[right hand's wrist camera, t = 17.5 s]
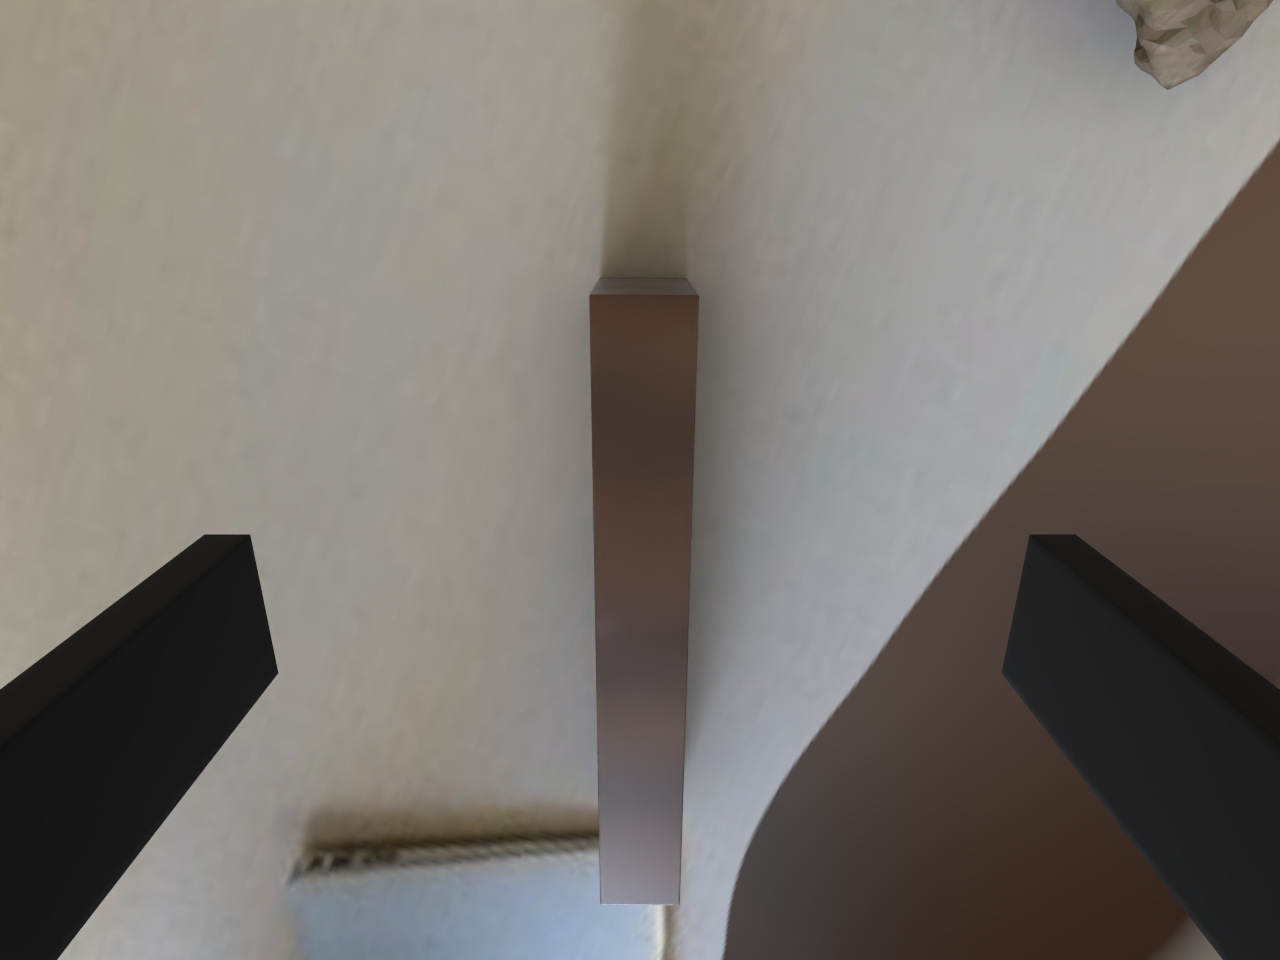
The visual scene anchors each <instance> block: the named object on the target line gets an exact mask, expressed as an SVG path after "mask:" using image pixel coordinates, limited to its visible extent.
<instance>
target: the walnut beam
mask: <svg viewBox="0 0 1280 960" xmlns="http://www.w3.org/2000/svg"><path fill="white" fill-rule="evenodd" d="M589 301H590V357H591V412H592V468H593V523H594V579H595V635H596V690H597V746H598V802H599V857H600V904H601V905H679V904H680V876H681V845H682V813H683V782H684V750H685V719H686V687H687V656H688V624H689V593H690V561H691V530H692V498H693V467H694V435H695V403H696V372H697V340H698V309H699V295H698V294H697V292H696V291H695V289H694V288H693V286H692V285H691V284H690V282H689V281H688V279H678V278H600V279H599V280H598V282H597V284H596V285H595V287H594V289H593V290H592V292H591V294H590V296H589Z"/></svg>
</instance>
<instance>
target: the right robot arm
mask: <svg viewBox="0 0 1280 960" xmlns="http://www.w3.org/2000/svg"><path fill="white" fill-rule="evenodd" d="M277 674H278V669H277V664H276V659H275V655H274V650H273V645H272V640H271V635H270V630H269V625H268V620H267V615H266V610H265V605H264V600H263V595H262V591H261V586H260V581H259V576H258V571H257V566H256V561H255V556H254V551H253V546H252V541H251V536H250V535H203V536H202V537H201V538H200V539H198V540H197V541H196V542H194V543H193V544H192V545H190V546H189V547H188V548H186V549H185V550H184V551H182V552H181V553H180V554H178V555H177V556H176V557H174V558H173V559H172V560H171V561H169V562H168V563H167V564H165V565H164V566H163V567H161V568H160V569H159V570H157V571H156V572H155V573H153V574H152V575H151V576H149V577H148V578H147V579H145V580H144V581H143V582H142V583H140V584H139V585H138V586H136V587H135V588H134V589H132V590H131V591H130V592H128V593H127V594H126V595H124V596H123V597H122V598H120V599H119V600H118V601H116V602H115V603H114V604H113V605H111V606H110V607H109V608H107V609H106V610H105V611H103V612H102V613H101V614H99V615H98V616H97V617H95V618H94V619H93V620H91V621H90V622H89V623H87V624H86V625H85V626H84V627H82V628H81V629H80V630H78V631H77V632H76V633H74V634H73V635H72V636H70V637H69V638H68V639H66V640H65V641H64V642H62V643H61V644H60V645H58V646H57V647H56V648H55V649H53V650H52V651H51V652H49V653H48V654H47V655H45V656H44V657H43V658H41V659H40V660H39V661H37V662H36V663H35V664H33V665H32V666H31V667H29V668H28V669H27V670H26V671H24V672H23V673H22V674H20V675H19V676H18V677H16V678H15V679H14V680H12V681H11V682H10V683H8V684H7V685H6V686H4V687H3V688H2V689H0V960H57V959H58V958H59V956H60V955H61V954H62V953H63V951H64V950H65V949H66V947H67V946H68V945H69V943H70V942H71V941H72V940H73V938H74V937H75V936H76V934H77V933H78V932H79V931H80V929H81V928H82V927H83V925H84V924H85V923H86V921H87V920H88V919H89V918H90V916H91V915H92V914H93V912H94V911H95V910H96V909H97V907H98V906H99V905H100V903H101V902H102V901H103V899H104V898H105V897H106V896H107V894H108V893H109V892H110V890H111V889H112V888H113V886H114V885H115V884H116V883H117V881H118V880H119V879H120V877H121V876H122V875H123V874H124V872H125V871H126V870H127V868H128V867H129V866H130V864H131V863H132V862H133V861H134V859H135V858H136V857H137V855H138V854H139V853H140V852H141V850H142V849H143V848H144V846H145V845H146V844H147V842H148V841H149V840H150V839H151V837H152V836H153V835H154V833H155V832H156V831H157V829H158V828H159V827H160V826H161V824H162V823H163V822H164V820H165V819H166V818H167V817H168V815H169V814H170V813H171V811H172V810H173V809H174V807H175V806H176V805H177V804H178V802H179V801H180V800H181V798H182V797H183V796H184V794H185V793H186V792H187V791H188V789H189V788H190V787H191V785H192V784H193V783H194V782H195V780H196V779H197V778H198V776H199V775H200V774H201V772H202V771H203V770H204V769H205V767H206V766H207V765H208V763H209V762H210V761H211V760H212V758H213V757H214V756H215V754H216V753H217V752H218V750H219V749H220V748H221V747H222V745H223V744H224V743H225V741H226V740H227V739H228V737H229V736H230V735H231V734H232V732H233V731H234V730H235V728H236V727H237V726H238V725H239V723H240V722H241V721H242V719H243V718H244V717H245V715H246V714H247V713H248V712H249V710H250V709H251V708H252V706H253V705H254V704H255V703H256V701H257V700H258V699H259V697H260V696H261V695H262V693H263V692H264V691H265V690H266V688H267V687H268V686H269V684H270V683H271V682H272V680H273V679H274V678H275V677H276V675H277ZM1002 674H1003V675H1004V677H1005V678H1006V679H1007V680H1008V682H1009V683H1010V684H1011V686H1012V687H1013V688H1014V689H1015V691H1016V692H1017V693H1018V695H1019V696H1020V697H1021V699H1022V700H1023V701H1024V702H1025V704H1026V705H1027V706H1028V708H1029V709H1030V710H1031V712H1032V713H1033V714H1034V715H1035V717H1036V718H1037V719H1038V721H1039V722H1040V723H1041V725H1042V726H1043V727H1044V728H1045V730H1046V731H1047V732H1048V734H1049V735H1050V736H1051V737H1052V739H1053V740H1054V741H1055V743H1056V744H1057V745H1058V747H1059V748H1060V749H1061V750H1062V752H1063V753H1064V754H1065V756H1066V757H1067V758H1068V759H1069V761H1070V762H1071V763H1072V765H1073V766H1074V767H1075V769H1076V770H1077V771H1078V772H1079V774H1080V775H1081V776H1082V778H1083V779H1084V780H1085V782H1086V783H1087V784H1088V785H1089V787H1090V788H1091V789H1092V791H1093V792H1094V793H1095V794H1096V796H1097V797H1098V798H1099V800H1100V801H1101V802H1102V804H1103V805H1104V806H1105V807H1106V809H1107V810H1108V811H1109V813H1110V814H1111V815H1112V817H1113V818H1114V819H1115V820H1116V822H1117V823H1118V824H1119V826H1120V827H1121V828H1122V829H1123V831H1124V832H1125V833H1126V835H1127V836H1128V837H1129V838H1130V840H1131V841H1132V842H1133V844H1134V845H1135V846H1136V848H1137V849H1138V850H1139V852H1140V853H1141V854H1142V855H1143V857H1144V858H1145V859H1146V861H1147V862H1148V863H1149V864H1150V866H1151V867H1152V868H1153V870H1154V871H1155V872H1156V873H1157V875H1158V876H1159V877H1160V879H1161V880H1162V881H1163V883H1164V884H1165V885H1166V886H1167V888H1168V889H1169V890H1170V892H1171V893H1172V894H1173V896H1174V897H1175V898H1176V899H1177V901H1178V902H1179V903H1180V905H1181V906H1182V907H1183V908H1184V910H1185V911H1186V912H1187V914H1188V915H1189V916H1190V918H1191V919H1192V920H1193V921H1194V923H1195V924H1196V925H1197V927H1198V928H1199V929H1200V931H1201V932H1202V933H1203V934H1204V936H1205V937H1206V938H1207V940H1208V941H1209V942H1210V943H1211V945H1212V946H1213V947H1214V949H1215V950H1216V951H1217V952H1218V954H1219V955H1220V956H1221V958H1222V959H1223V960H1280V689H1278V688H1277V687H1276V686H1274V685H1273V684H1272V683H1270V682H1269V681H1268V680H1266V679H1265V678H1264V677H1262V676H1261V675H1260V674H1258V673H1257V672H1256V671H1254V670H1253V669H1252V668H1251V667H1249V666H1248V665H1246V664H1245V663H1244V662H1243V661H1241V660H1240V659H1239V658H1237V657H1236V656H1235V655H1233V654H1232V653H1231V652H1229V651H1228V650H1227V649H1225V648H1224V647H1223V646H1221V645H1220V644H1219V643H1218V642H1216V641H1215V640H1214V639H1212V638H1211V637H1210V636H1208V635H1207V634H1206V633H1204V632H1203V631H1202V630H1200V629H1199V628H1198V627H1196V626H1195V625H1194V624H1193V623H1191V622H1190V621H1189V620H1187V619H1186V618H1185V617H1183V616H1182V615H1181V614H1179V613H1178V612H1177V611H1175V610H1174V609H1173V608H1171V607H1170V606H1169V605H1167V604H1166V603H1165V602H1164V601H1162V600H1161V599H1160V598H1158V597H1157V596H1156V595H1154V594H1153V593H1152V592H1150V591H1149V590H1148V589H1146V588H1145V587H1144V586H1142V585H1141V584H1140V583H1138V582H1137V581H1136V580H1135V579H1133V578H1132V577H1131V576H1129V575H1128V574H1127V573H1125V572H1124V571H1123V570H1121V569H1120V568H1119V567H1117V566H1116V565H1115V564H1113V563H1112V562H1111V561H1109V560H1108V559H1107V558H1105V557H1104V556H1103V555H1102V554H1100V553H1099V552H1098V551H1096V550H1095V549H1094V548H1092V547H1091V546H1090V545H1088V544H1087V543H1086V542H1084V541H1083V540H1082V539H1080V538H1079V537H1078V536H1077V535H1030V537H1029V541H1028V546H1027V551H1026V556H1025V561H1024V566H1023V571H1022V576H1021V581H1020V586H1019V591H1018V596H1017V600H1016V605H1015V610H1014V615H1013V620H1012V625H1011V630H1010V635H1009V640H1008V645H1007V650H1006V655H1005V659H1004V664H1003V669H1002Z"/></svg>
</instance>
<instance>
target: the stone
mask: <svg viewBox="0 0 1280 960" xmlns="http://www.w3.org/2000/svg"><path fill="white" fill-rule="evenodd" d="M1272 1H1273V0H1116V2H1117V4H1118V6H1119V7H1120V8H1122V9H1123V10H1124V11H1126V12H1127V13H1128V14H1129V15H1131V16H1132V17H1133V19H1134V21H1135V24H1136V31H1137V42H1136V48H1135V51H1134V60H1135V64H1136V65H1137V66H1138V67H1139V68H1140V69H1141V70H1142V71H1144V72H1146V73H1148V74H1150V75H1152V76H1153V77H1154V78H1155V79H1156V81H1157V82H1158V83H1159V84H1160V85H1161V86H1163V87H1164V88H1166V89H1167V90H1168V89H1171V88H1173V87H1175V86H1177V85H1179V84H1181V83H1183V82H1185V81H1187V80H1190V79H1192V78H1194V77H1196V76H1198V75H1200V74H1201V73H1202V72H1203V71H1204V70H1205V69H1206V68H1207V67H1208V66H1209V65H1210V64H1212V63H1213V62H1214V61H1215V60H1216V59H1217V58H1218V57H1219V56H1220V55H1222V54H1223V53H1224V52H1225V51H1226V50H1227V49H1228V48H1229V47H1231V46H1232V45H1233V44H1234V43H1235V42H1236V41H1238V40H1239V39H1240V38H1241V37H1242V36H1243V35H1244V33H1245V32H1246V31H1247V29H1248V28H1249V27H1250V25H1251V24H1252V23H1253V21H1254V20H1255V19H1256V18H1257V17H1258V16H1259V15H1260V14H1262V13H1263V12H1264V11H1265V10H1266V9H1267V8H1268V6H1269V5H1270V4H1271V2H1272Z"/></svg>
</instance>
